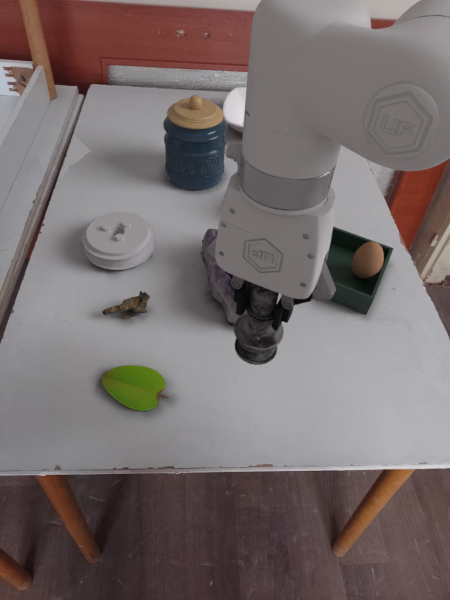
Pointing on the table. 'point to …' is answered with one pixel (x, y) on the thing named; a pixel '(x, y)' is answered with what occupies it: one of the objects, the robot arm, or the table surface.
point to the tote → (346, 282)
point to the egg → (368, 260)
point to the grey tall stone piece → (258, 328)
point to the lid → (118, 240)
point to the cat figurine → (130, 306)
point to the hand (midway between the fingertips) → (261, 312)
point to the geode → (219, 280)
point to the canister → (194, 143)
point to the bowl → (235, 108)
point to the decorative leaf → (135, 386)
